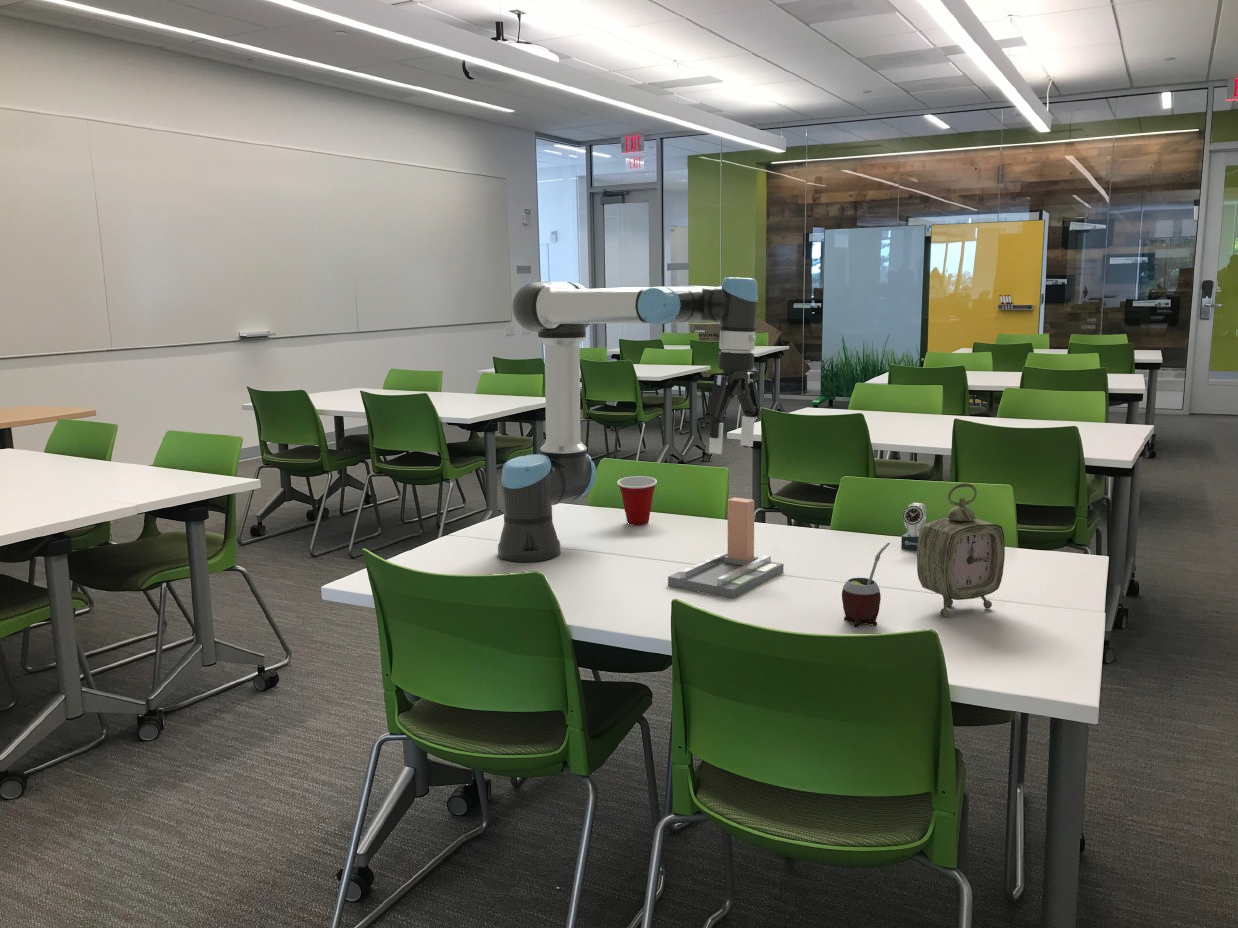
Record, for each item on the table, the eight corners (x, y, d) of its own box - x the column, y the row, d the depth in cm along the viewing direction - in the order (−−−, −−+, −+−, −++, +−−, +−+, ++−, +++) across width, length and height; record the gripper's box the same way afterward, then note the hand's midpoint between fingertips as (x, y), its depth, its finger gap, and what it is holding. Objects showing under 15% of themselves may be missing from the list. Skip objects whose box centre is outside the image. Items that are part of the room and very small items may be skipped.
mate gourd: (836, 624, 178) (837, 547, 175) (849, 612, 184) (851, 537, 182) (875, 631, 174) (878, 552, 171) (887, 618, 180) (890, 542, 178)
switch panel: (668, 585, 203) (667, 569, 203) (721, 561, 220) (721, 546, 220) (732, 598, 194) (732, 582, 193) (783, 572, 211) (783, 557, 210)
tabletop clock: (943, 621, 178) (948, 491, 174) (910, 607, 186) (915, 482, 182) (1001, 609, 184) (1008, 483, 179) (967, 596, 192) (973, 475, 188)
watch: (898, 550, 226) (900, 505, 224) (909, 542, 233) (910, 499, 231) (922, 553, 223) (923, 508, 221) (932, 546, 230) (934, 501, 228)
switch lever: (723, 562, 212) (723, 499, 209) (732, 557, 215) (732, 496, 212) (748, 566, 208) (749, 503, 205) (757, 562, 211) (758, 499, 208)
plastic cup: (614, 527, 254) (613, 483, 252) (621, 518, 264) (620, 475, 262) (655, 528, 252) (654, 484, 250) (660, 518, 262) (659, 476, 260)
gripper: (722, 354, 190) (716, 458, 194) (779, 350, 210) (773, 444, 214) (690, 352, 194) (685, 454, 198) (749, 348, 214) (744, 440, 218)
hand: (731, 449), depth 206 cm, fingers open, 13 cm apart
